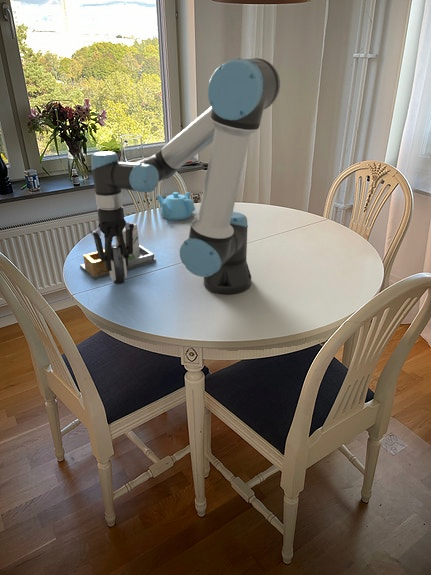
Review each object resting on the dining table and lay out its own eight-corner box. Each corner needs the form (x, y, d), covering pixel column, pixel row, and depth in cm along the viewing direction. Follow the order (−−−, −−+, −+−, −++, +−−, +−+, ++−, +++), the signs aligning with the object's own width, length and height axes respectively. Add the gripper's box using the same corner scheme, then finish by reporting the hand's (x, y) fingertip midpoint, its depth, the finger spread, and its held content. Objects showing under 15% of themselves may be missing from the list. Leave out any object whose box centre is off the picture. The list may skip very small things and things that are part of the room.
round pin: (126, 281, 143) (122, 247, 137) (116, 284, 141) (112, 250, 136) (121, 278, 145) (117, 244, 140) (112, 281, 144) (107, 246, 138)
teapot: (161, 223, 192) (159, 199, 187) (157, 212, 205) (155, 189, 199) (196, 220, 194) (195, 196, 189) (190, 209, 207) (189, 187, 202)
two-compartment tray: (156, 261, 156) (155, 248, 154) (94, 279, 144) (92, 265, 142) (140, 251, 165) (138, 238, 163) (80, 267, 153) (78, 253, 151)
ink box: (130, 263, 153) (127, 231, 147) (117, 262, 154) (113, 230, 148) (140, 254, 160) (137, 222, 155) (127, 252, 161) (124, 221, 156)
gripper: (129, 198, 138) (136, 266, 150) (78, 208, 130) (89, 280, 141) (140, 204, 133) (146, 274, 144) (88, 215, 125) (99, 288, 136)
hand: (118, 277), depth 143 cm, fingers closed on round pin, 3 cm apart
